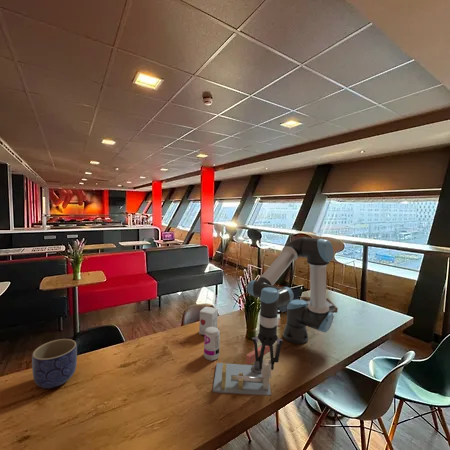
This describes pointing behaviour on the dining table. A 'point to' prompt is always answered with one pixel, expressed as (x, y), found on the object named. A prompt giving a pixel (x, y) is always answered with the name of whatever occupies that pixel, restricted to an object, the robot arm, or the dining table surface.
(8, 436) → the dining table surface
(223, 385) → the eye bracket
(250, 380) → the sliding bolt
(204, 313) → the supplement box
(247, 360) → the handle
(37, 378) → the planter
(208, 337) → the supplement can
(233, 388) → the board
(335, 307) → the towel corral
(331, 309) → the towel
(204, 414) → the dining table surface
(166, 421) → the dining table surface
